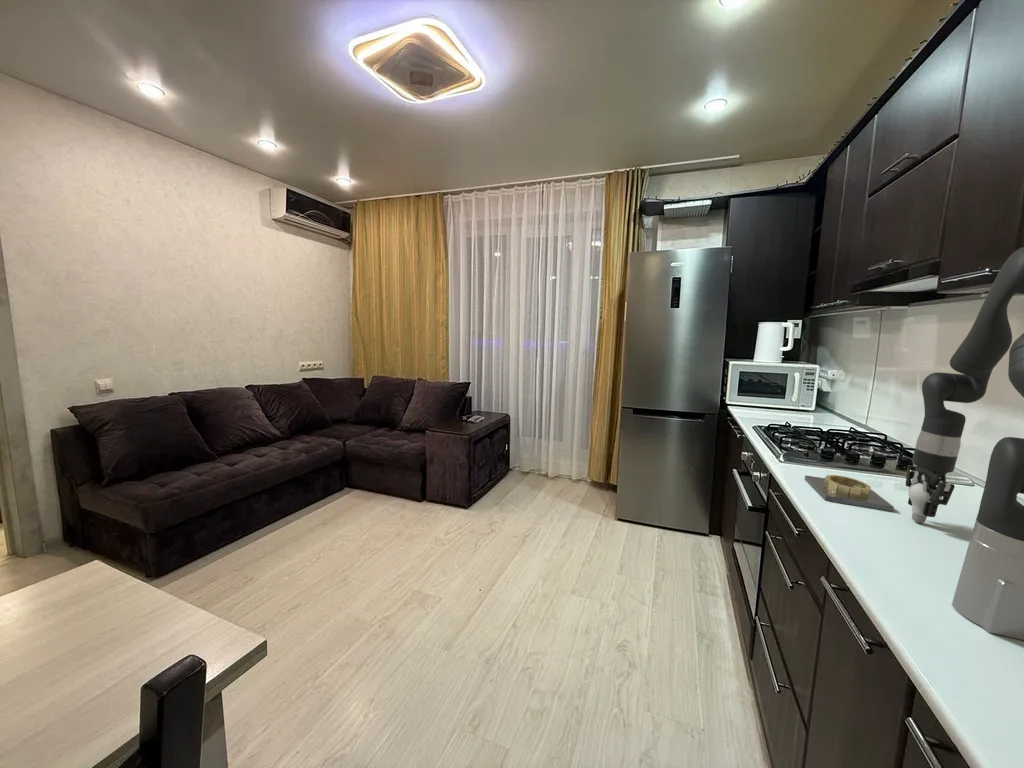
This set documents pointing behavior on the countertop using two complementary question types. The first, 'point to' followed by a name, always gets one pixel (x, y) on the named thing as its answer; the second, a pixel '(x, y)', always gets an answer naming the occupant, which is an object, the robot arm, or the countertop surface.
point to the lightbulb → (918, 502)
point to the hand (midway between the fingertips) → (920, 510)
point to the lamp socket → (847, 492)
